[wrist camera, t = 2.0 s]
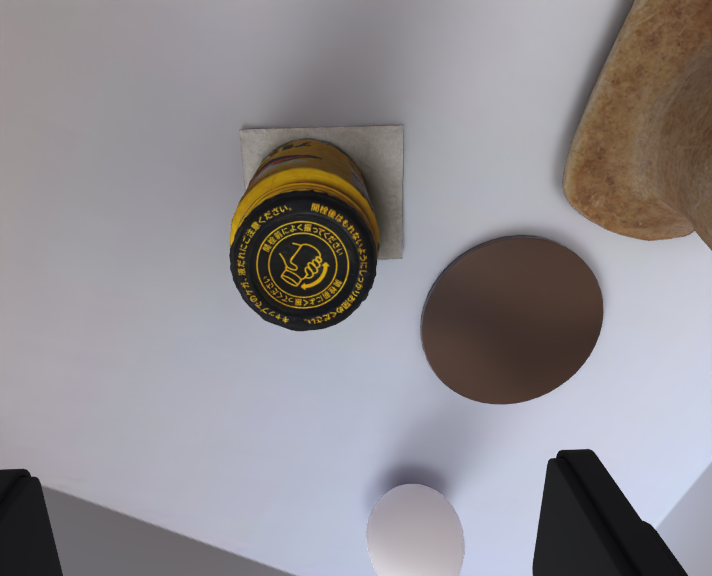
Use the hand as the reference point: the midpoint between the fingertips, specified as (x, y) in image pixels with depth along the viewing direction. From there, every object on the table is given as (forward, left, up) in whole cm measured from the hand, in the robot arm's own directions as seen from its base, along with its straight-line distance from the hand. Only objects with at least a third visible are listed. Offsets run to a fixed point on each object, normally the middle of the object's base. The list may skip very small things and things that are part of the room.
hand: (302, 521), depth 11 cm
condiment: (-1, +1, -23) cm, 23 cm away
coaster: (+7, +12, -23) cm, 27 cm away
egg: (+20, +6, -23) cm, 31 cm away
